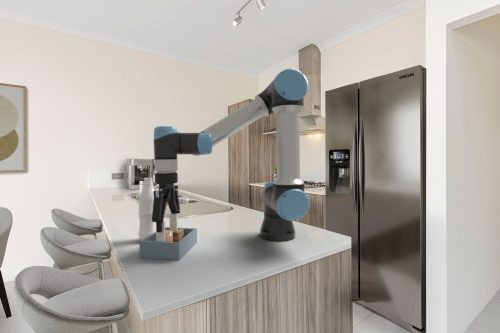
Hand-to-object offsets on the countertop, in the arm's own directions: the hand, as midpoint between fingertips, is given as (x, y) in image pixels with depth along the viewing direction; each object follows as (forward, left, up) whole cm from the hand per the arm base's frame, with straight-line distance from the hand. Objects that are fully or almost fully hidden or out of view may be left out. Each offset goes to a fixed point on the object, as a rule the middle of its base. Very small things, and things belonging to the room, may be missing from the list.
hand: (167, 236), depth 88 cm
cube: (+1, -7, -5) cm, 9 cm away
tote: (0, -3, -6) cm, 6 cm away
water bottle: (+13, -11, -6) cm, 18 cm away
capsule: (0, +1, -5) cm, 5 cm away
